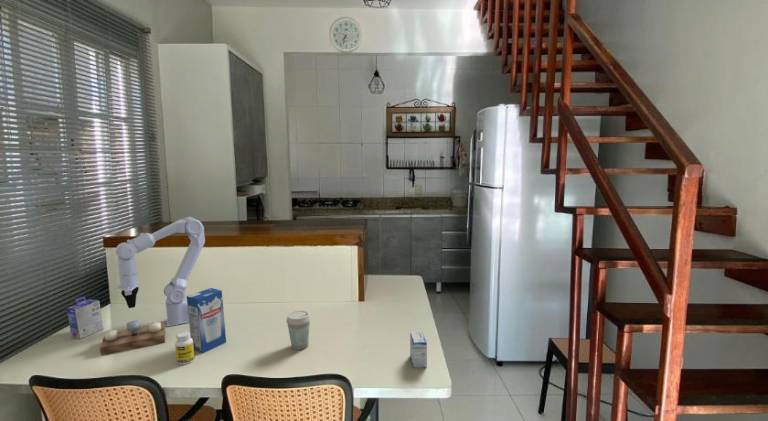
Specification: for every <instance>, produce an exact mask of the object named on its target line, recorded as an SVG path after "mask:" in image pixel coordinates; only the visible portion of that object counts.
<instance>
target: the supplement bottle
mask: <svg viewBox="0 0 768 421" xmlns="http://www.w3.org/2000/svg"><path fill="white" fill-rule="evenodd" d="M174 344H175V354H176V355H175V356H176V362H177V364H178V365H181V366H182V365H188V364H191V363H193V362H194V361H195V350H194V347H193V340H192V338H191V335H190V331H182V332H178V333H177V334H176V341H175V343H174Z"/></svg>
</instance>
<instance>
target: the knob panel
mask: <svg viewBox="0 0 768 421" xmlns="http://www.w3.org/2000/svg"><path fill="white" fill-rule="evenodd" d="M165 343H166V324H165V322H164V323H163V322H162V323H161V330H160V331H157V332H149V325H148V326H143V327H142V326H141V327H140V328H139V329H138V330H136V334H135V335H132V331H127V329H126V330H120V331H118V338H117V339H115V340H112V341H106V340H105V334H104V335H103V338H102V341H101V343H100V346H99V351H100V352H99V353H100V356H101V357H103V356H106V355H112V354H117V353H122V352H126V351H131V350H135V349H136V350H137V349H141V348H145V347H149V346H154V345H160V344H165Z"/></svg>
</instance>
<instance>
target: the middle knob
mask: <svg viewBox="0 0 768 421" xmlns="http://www.w3.org/2000/svg"><path fill="white" fill-rule="evenodd" d="M139 328H141V327H140V321H139V320H131V321H128V322H127V323H126V330H127V331H132V335H135V334H136V330H138V329H139Z"/></svg>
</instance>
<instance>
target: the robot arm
mask: <svg viewBox="0 0 768 421" xmlns="http://www.w3.org/2000/svg"><path fill="white" fill-rule="evenodd" d="M177 233H179V234H187V236H188V238H189V240H190V243H189V245H188V248H187V249H186V252H185V253H184V255H183V258H182V260H181V262H180V264H179V266H178V269H177V271H176V273H175V275H174V277H172V278H171V279H170V281H169V283H168V284H166V285H165V286H164V289H163V293H164V295H165V297H166V299H165V309H166V327H173V326H176V325H177V326H178V325H182V324H189V315H188V305H187V298H185V297H186V289H187V287H188V286H187V284H188V280H189V277H190V276H191V273H192V271H193V269H194V267H195V264H196V262H197V260H198V258H199V256H200V255H201V251H202V250H203V248H204V245H205V243H206V237H205V227H204V225H203V223H202V222H201V221H200V220H198V219H195V218H194V217H192V216H186V217H184V218H181V219H177V220H175V221H174V222H172V223H170V224H168V225H166V226H165V227H162V228H160V229H158V230H156V231H155V232H153V233H148V232H145V233H144V232H141V233H139V235H138V236H136V237H134V238H132V239H127V240H126V242H125V241H124V242H121V243H118V245H117V246H116V248H115V254H116V255H117V262H118V263H117V266H118V274H119V284H120V285H119V284H118V285H117V288H116V289H120V290H121V292H120V294H121V296H122V297H123V298H124V300H125V302H126V305H127V307H128V309H132V308H136V303H137V294H138V293H139V288H140V287H139V286H140V285H139V284H140V283H139V281H138V280H139V279H138V273H137V265H136V260H135V255H136V254H139V253H141V252H143V251H145V250H147V249H150V248H152V247H154V246H155V243H156V242H157V241H159V240H161V239H164V238H166V237H168V236H172V235H174V234H177Z"/></svg>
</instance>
